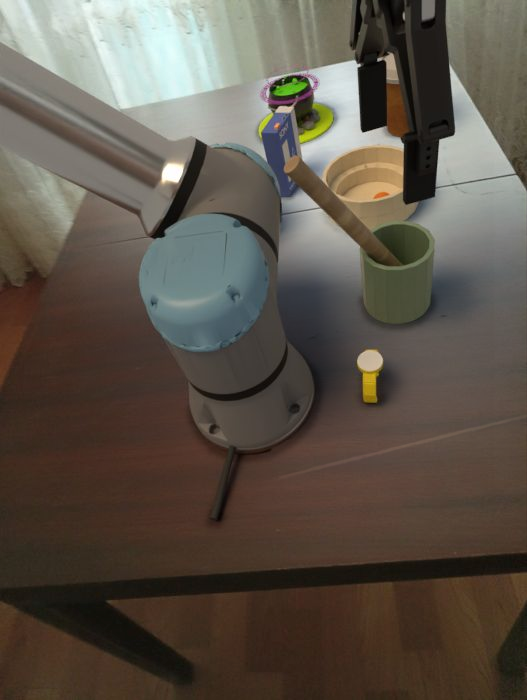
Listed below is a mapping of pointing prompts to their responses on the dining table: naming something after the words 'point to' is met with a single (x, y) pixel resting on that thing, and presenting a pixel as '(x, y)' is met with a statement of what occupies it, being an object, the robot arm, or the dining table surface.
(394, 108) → the disposable coffee cup
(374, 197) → the ball
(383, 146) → the mixing bowl
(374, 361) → the watch
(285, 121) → the walkman
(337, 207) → the stick
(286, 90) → the toy cauldron
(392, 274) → the crock
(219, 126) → the dining table surface
